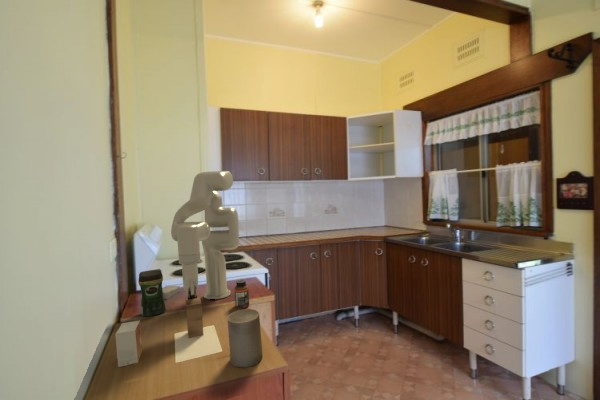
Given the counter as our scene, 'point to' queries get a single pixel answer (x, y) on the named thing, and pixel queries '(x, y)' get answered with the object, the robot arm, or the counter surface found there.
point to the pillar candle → (244, 337)
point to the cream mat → (196, 344)
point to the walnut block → (194, 317)
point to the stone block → (170, 291)
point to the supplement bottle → (241, 294)
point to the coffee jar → (151, 292)
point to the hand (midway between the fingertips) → (192, 307)
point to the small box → (128, 343)
